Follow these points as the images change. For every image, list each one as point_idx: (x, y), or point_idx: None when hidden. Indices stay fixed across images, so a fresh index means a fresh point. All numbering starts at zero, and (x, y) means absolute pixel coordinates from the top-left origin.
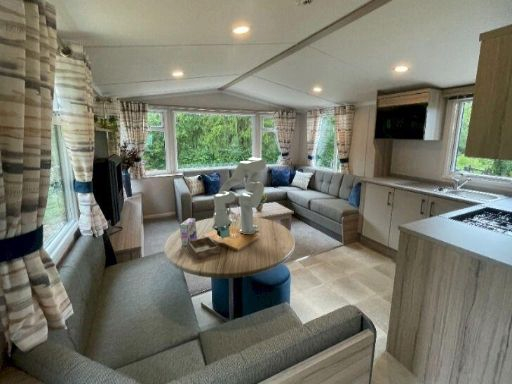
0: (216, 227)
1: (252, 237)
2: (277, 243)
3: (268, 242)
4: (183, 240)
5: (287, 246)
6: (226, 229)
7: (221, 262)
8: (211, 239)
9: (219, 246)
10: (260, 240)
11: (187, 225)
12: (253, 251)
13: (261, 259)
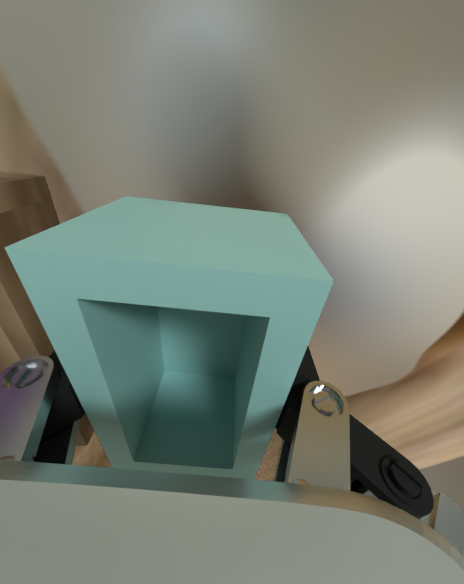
0: (14, 261)
1: (447, 334)
2: (427, 440)
3: (416, 420)
4: None
5: (417, 464)
6: (238, 431)
7: (98, 444)
8: (12, 321)
9: (86, 444)
10: (421, 389)
11: None
12: (280, 441)
13: (257, 477)
